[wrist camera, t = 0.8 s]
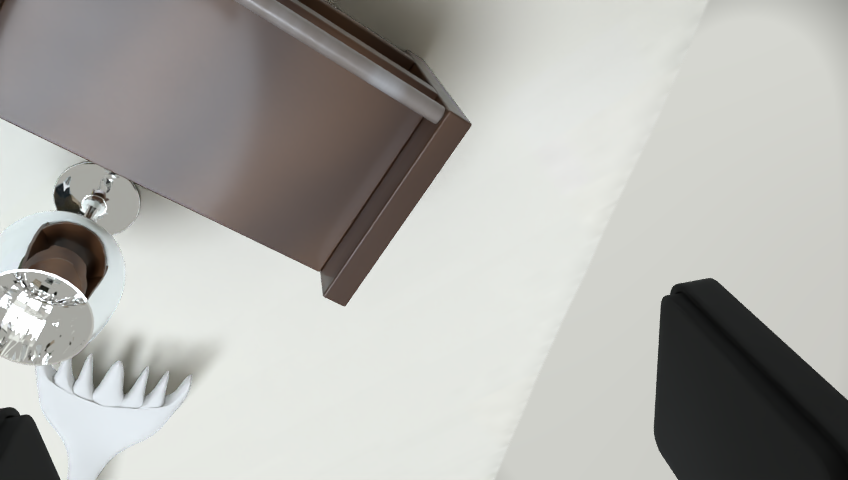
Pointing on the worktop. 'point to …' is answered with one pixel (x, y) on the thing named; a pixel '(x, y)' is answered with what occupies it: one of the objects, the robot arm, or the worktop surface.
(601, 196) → the worktop surface
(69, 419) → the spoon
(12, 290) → the wineglass
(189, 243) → the worktop surface
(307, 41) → the rack
